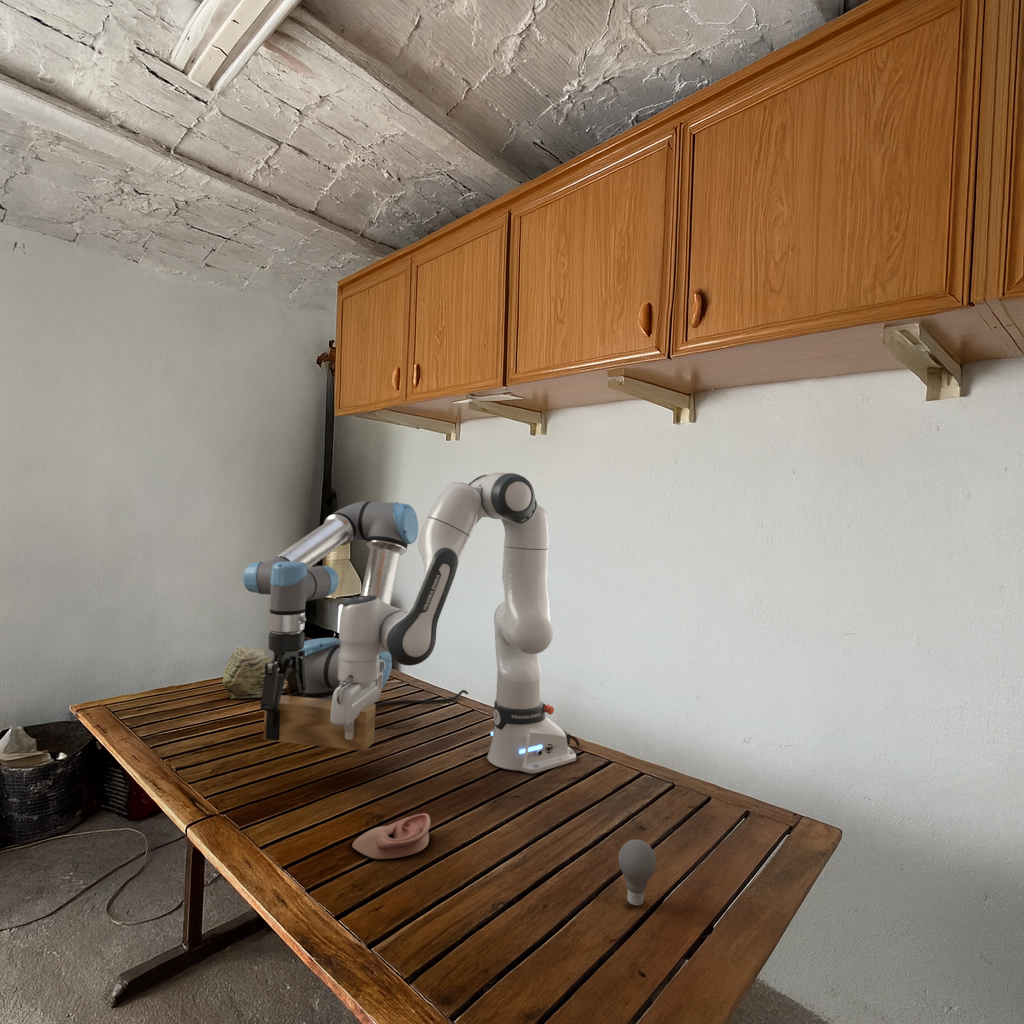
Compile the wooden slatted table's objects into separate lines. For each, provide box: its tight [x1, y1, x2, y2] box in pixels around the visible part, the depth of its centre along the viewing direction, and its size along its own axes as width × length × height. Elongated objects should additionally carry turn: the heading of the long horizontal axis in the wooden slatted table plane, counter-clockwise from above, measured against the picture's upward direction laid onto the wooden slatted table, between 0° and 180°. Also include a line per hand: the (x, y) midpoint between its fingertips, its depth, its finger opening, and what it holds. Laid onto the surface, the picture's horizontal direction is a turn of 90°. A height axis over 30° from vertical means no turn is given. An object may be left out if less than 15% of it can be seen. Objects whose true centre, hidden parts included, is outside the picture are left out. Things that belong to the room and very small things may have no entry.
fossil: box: [222, 646, 288, 699], centre depth 198 cm, size 9×18×15 cm, turn 132°
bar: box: [263, 694, 377, 752], centre depth 140 cm, size 24×5×8 cm, turn 81°
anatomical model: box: [351, 812, 431, 860], centre depth 117 cm, size 13×4×12 cm
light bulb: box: [618, 838, 657, 906], centre depth 102 cm, size 6×6×10 cm
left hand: (283, 731), depth 142 cm, fingers open, 8 cm apart
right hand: (356, 732), depth 139 cm, fingers closed on bar, 5 cm apart
